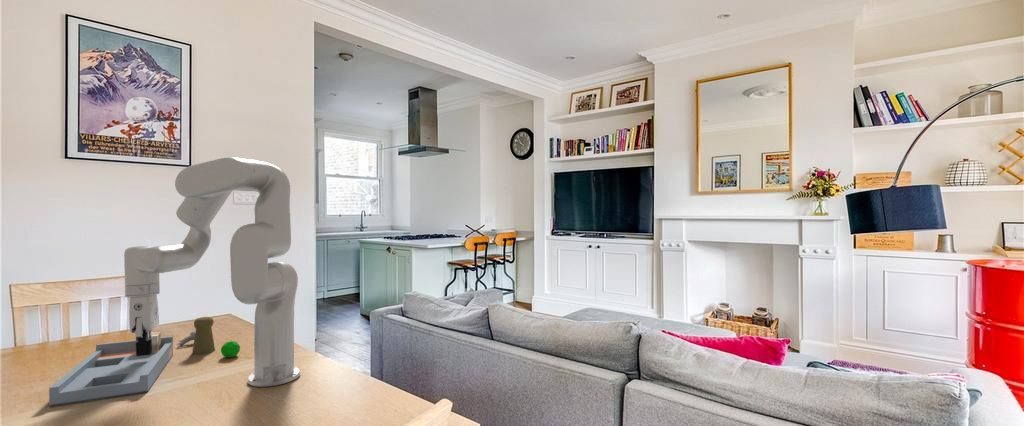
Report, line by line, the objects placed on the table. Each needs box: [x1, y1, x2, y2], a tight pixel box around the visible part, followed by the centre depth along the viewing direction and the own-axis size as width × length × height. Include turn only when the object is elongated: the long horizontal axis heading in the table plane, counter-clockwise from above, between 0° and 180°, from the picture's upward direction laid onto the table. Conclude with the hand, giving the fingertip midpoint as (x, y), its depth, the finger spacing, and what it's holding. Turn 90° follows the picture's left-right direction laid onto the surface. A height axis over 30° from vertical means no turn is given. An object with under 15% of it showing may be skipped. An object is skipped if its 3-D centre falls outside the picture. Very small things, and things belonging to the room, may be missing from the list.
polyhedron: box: [220, 340, 241, 359], centre depth 138 cm, size 5×5×5 cm
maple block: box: [151, 331, 162, 353], centre depth 134 cm, size 5×5×5 cm
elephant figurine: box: [177, 327, 196, 347], centre depth 152 cm, size 10×6×9 cm
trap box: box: [48, 335, 174, 408], centre depth 121 cm, size 32×18×6 cm, turn 28°
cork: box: [192, 316, 216, 355], centre depth 143 cm, size 6×6×11 cm
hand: (144, 354), depth 126 cm, fingers closed
